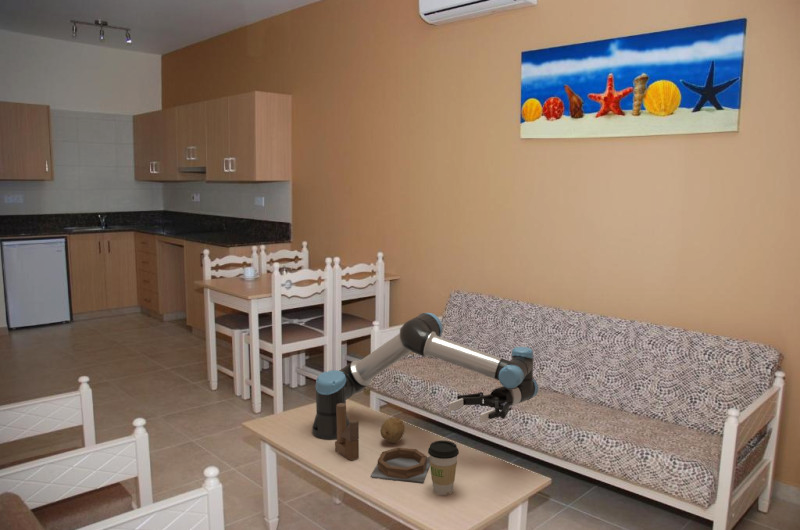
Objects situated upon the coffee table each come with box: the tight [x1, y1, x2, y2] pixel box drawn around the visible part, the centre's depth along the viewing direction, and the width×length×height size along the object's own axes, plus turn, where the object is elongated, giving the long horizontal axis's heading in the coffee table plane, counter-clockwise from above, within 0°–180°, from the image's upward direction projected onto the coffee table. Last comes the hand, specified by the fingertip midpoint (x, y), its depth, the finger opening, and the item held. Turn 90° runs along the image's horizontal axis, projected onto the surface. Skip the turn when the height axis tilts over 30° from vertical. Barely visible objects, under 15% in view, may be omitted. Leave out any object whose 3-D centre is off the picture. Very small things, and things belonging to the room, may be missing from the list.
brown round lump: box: [380, 417, 406, 444], centre depth 230 cm, size 9×9×10 cm
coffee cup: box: [427, 440, 460, 496], centre depth 194 cm, size 10×10×15 cm
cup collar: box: [370, 447, 430, 484], centre depth 210 cm, size 18×18×4 cm
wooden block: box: [334, 403, 360, 461], centre depth 220 cm, size 4×11×18 cm, turn 38°
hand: (464, 412), depth 198 cm, fingers open, 13 cm apart
